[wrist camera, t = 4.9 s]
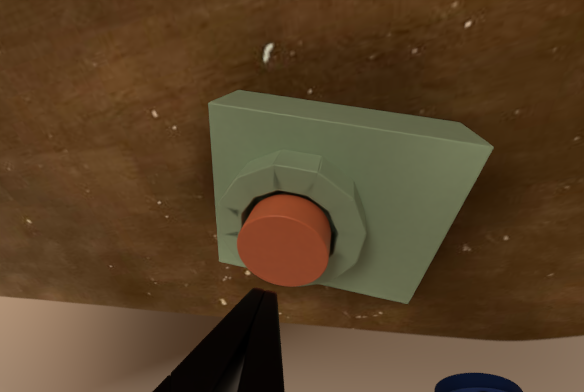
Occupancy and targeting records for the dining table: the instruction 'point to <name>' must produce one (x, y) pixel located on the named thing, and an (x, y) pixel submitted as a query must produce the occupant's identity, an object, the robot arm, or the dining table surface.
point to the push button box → (346, 181)
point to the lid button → (285, 240)
